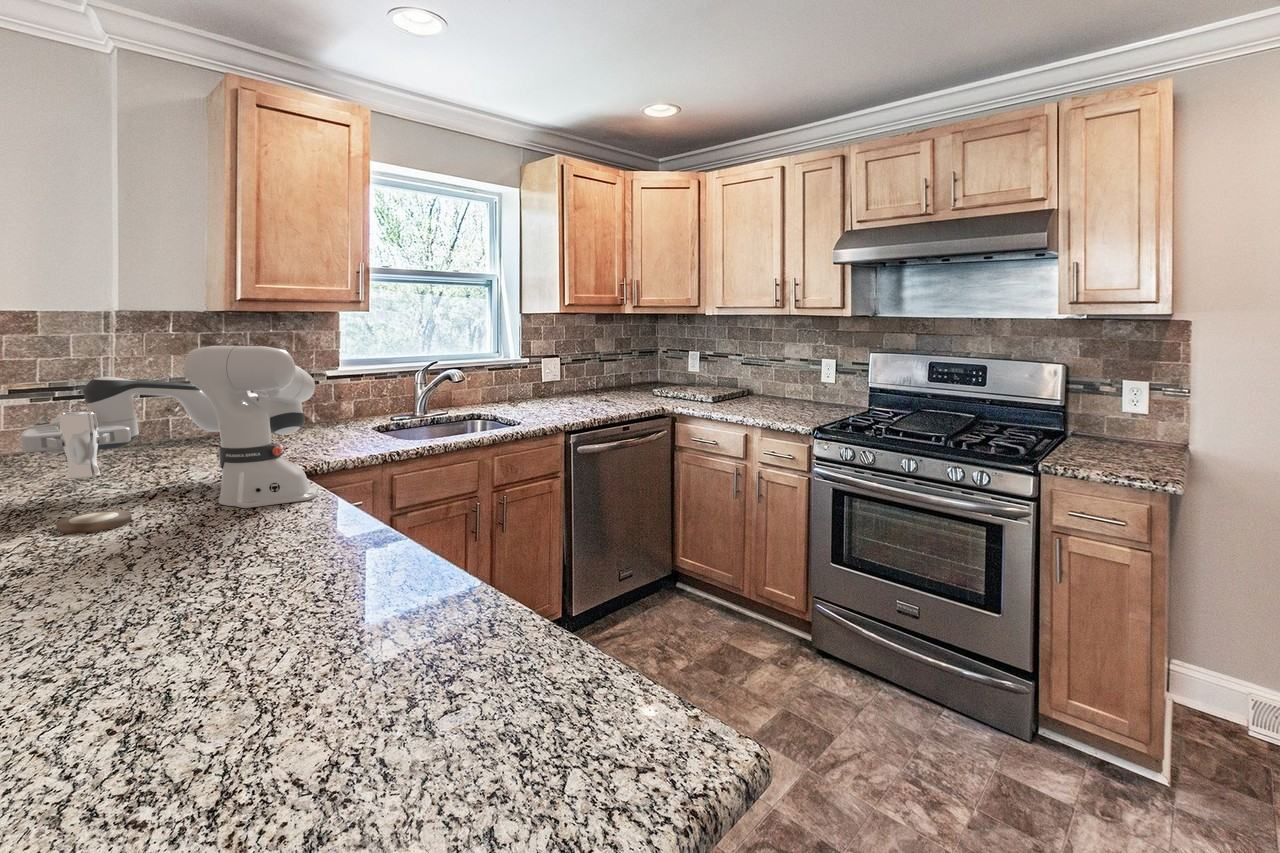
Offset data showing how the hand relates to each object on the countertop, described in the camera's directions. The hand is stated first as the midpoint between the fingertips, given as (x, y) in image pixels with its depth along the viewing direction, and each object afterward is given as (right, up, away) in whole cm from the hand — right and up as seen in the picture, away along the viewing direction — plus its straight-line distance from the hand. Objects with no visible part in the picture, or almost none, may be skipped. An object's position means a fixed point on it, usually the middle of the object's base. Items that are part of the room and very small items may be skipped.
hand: (80, 442), depth 157 cm
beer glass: (-1, -8, +2) cm, 8 cm away
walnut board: (+9, -18, -7) cm, 22 cm away
